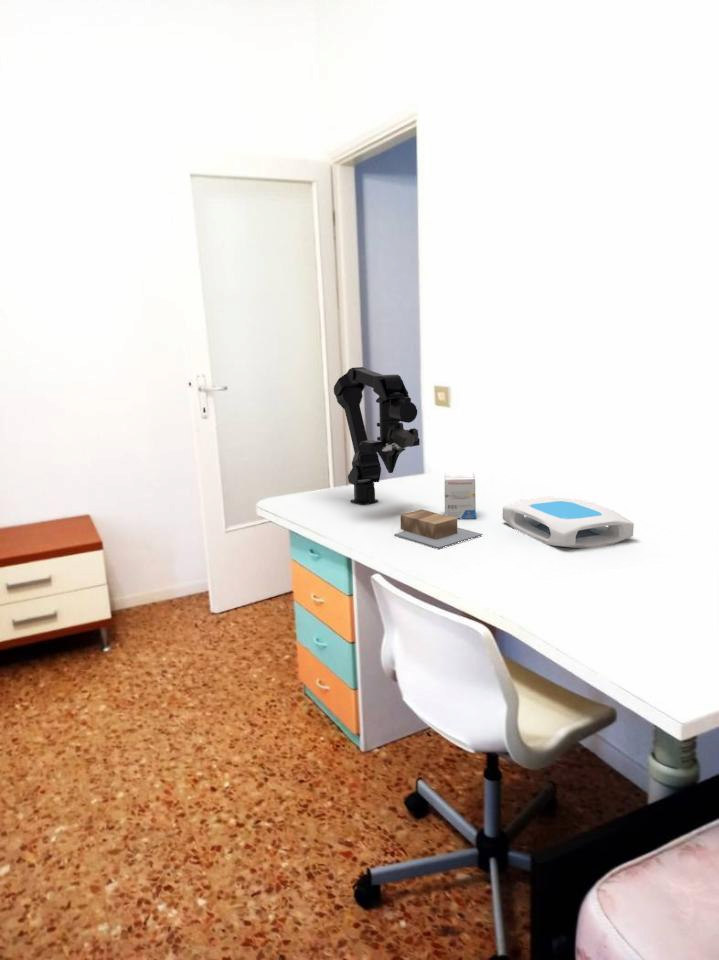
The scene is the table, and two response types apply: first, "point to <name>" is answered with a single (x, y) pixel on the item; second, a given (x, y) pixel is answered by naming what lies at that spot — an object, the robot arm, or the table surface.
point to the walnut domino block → (428, 524)
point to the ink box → (460, 495)
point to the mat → (440, 542)
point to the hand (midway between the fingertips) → (390, 472)
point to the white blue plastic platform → (567, 521)
